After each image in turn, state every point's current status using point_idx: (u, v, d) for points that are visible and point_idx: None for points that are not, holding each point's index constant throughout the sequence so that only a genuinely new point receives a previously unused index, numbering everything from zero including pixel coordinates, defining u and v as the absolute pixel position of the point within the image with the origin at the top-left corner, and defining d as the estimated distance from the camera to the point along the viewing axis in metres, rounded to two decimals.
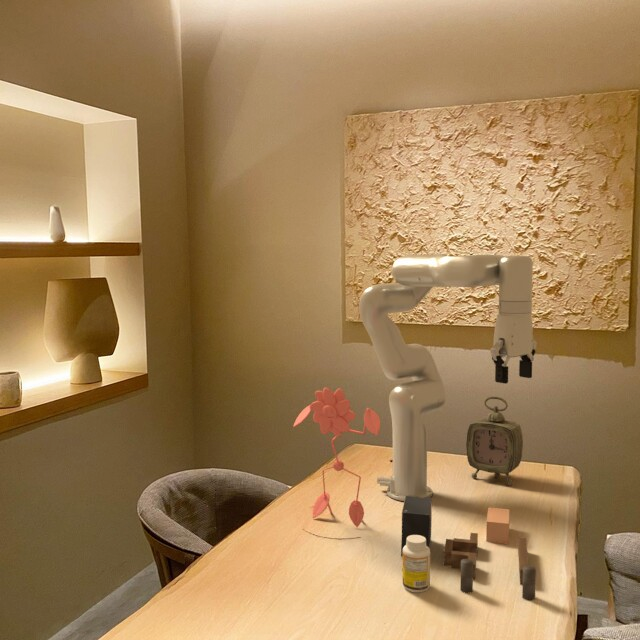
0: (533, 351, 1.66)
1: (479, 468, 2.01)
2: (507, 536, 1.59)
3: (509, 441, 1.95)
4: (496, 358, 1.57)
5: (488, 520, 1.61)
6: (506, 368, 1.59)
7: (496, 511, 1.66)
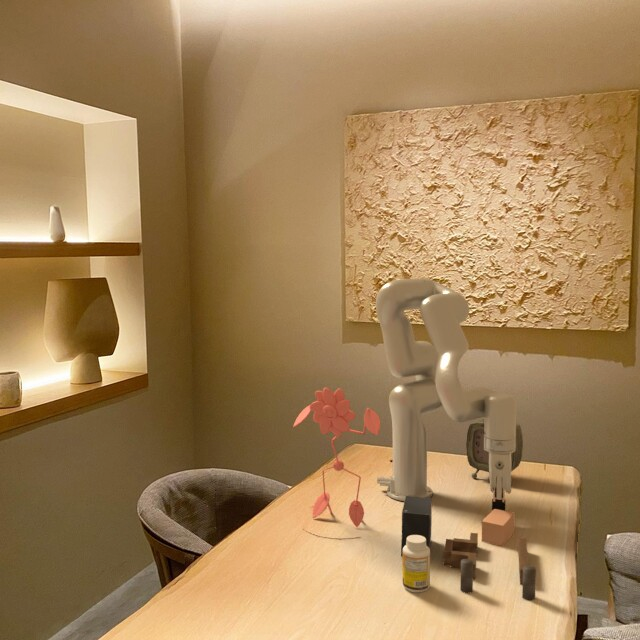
0: (495, 494, 1.67)
1: (479, 468, 2.01)
2: (501, 538, 1.58)
3: None
4: None
5: (484, 520, 1.61)
6: None
7: (499, 513, 1.65)
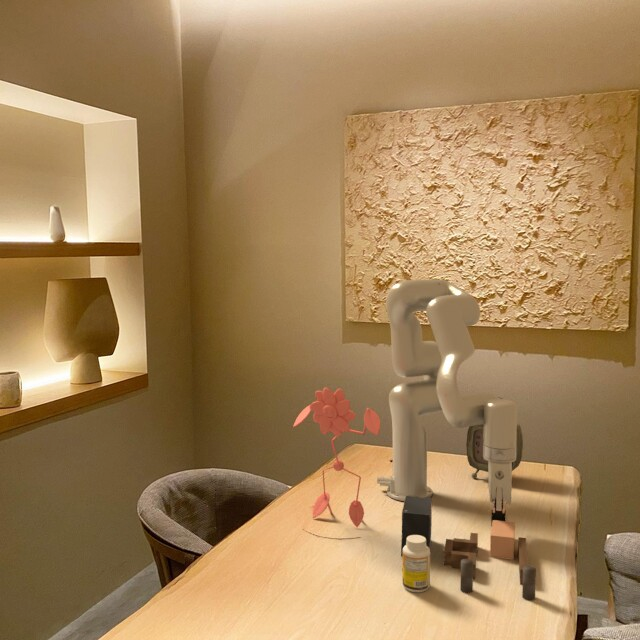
0: None
1: (479, 468, 2.01)
2: (512, 551, 1.51)
3: None
4: None
5: (492, 534, 1.53)
6: None
7: (501, 524, 1.58)
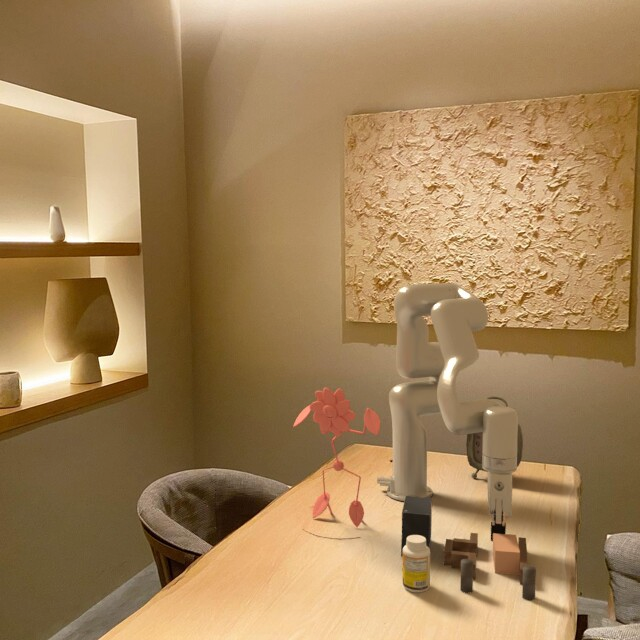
0: (494, 518, 1.53)
1: (479, 468, 2.01)
2: (518, 566, 1.44)
3: None
4: None
5: (497, 549, 1.45)
6: None
7: (503, 538, 1.51)
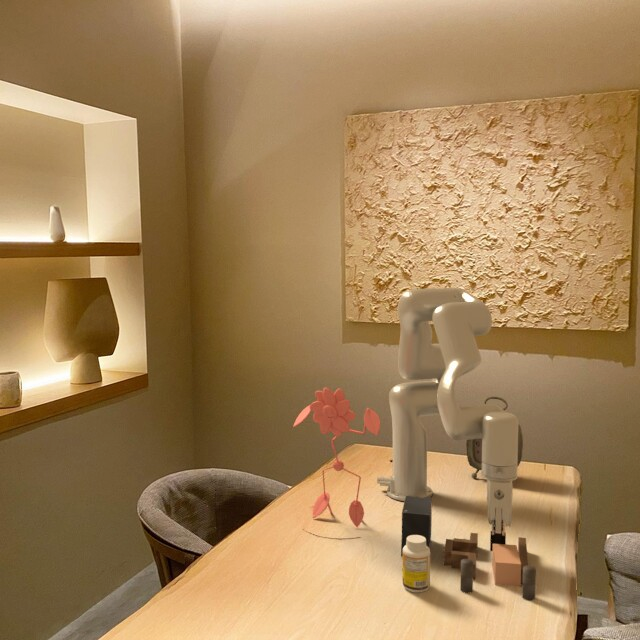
0: (494, 527, 1.48)
1: (479, 468, 2.01)
2: (519, 578, 1.39)
3: None
4: None
5: (497, 560, 1.40)
6: None
7: (503, 548, 1.46)
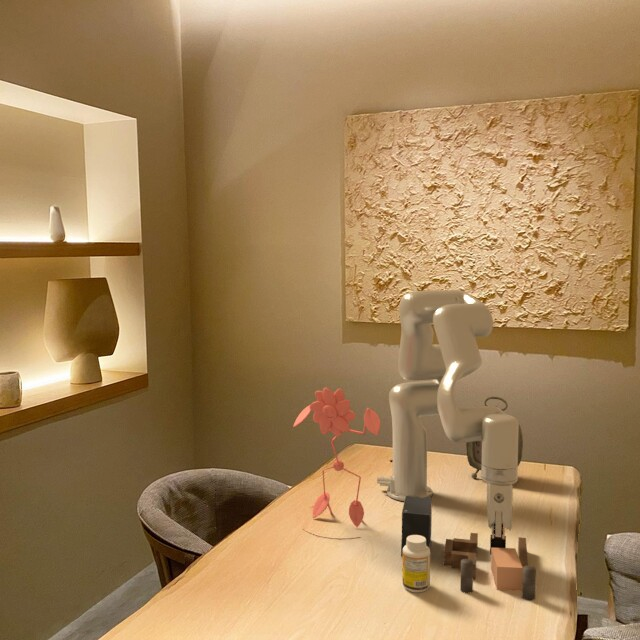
0: None
1: (479, 468, 2.01)
2: (521, 582, 1.38)
3: None
4: None
5: (498, 565, 1.39)
6: None
7: (502, 552, 1.44)
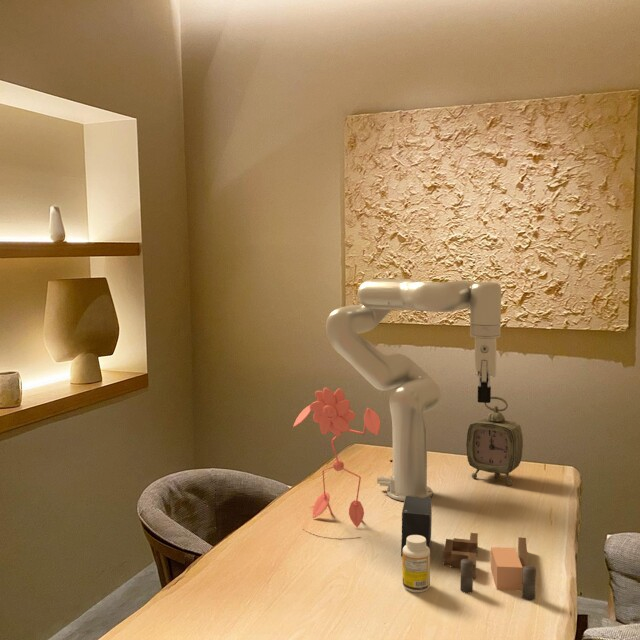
0: None
1: (479, 468, 2.01)
2: (521, 582, 1.38)
3: (509, 441, 1.95)
4: None
5: (498, 565, 1.39)
6: None
7: (502, 552, 1.44)
